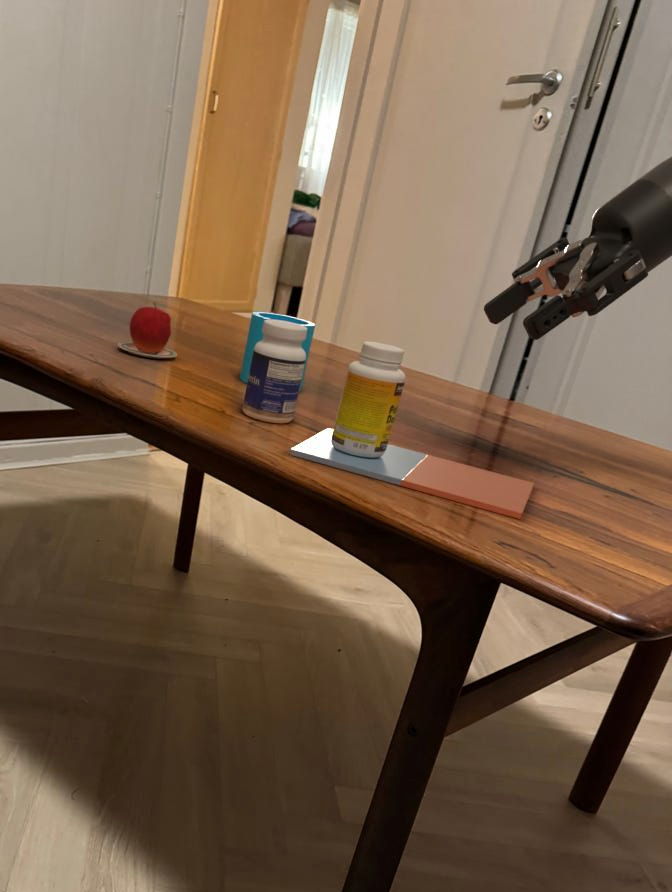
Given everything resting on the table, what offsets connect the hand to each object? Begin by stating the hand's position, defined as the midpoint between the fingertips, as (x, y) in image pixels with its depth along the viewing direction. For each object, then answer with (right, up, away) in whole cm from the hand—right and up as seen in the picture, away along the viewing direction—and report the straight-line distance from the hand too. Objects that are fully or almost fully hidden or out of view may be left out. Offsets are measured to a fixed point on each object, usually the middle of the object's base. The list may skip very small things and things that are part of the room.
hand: (507, 323), depth 86 cm
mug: (-19, +4, +33) cm, 38 cm away
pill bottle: (-22, -6, +14) cm, 26 cm away
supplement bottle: (-14, -11, +4) cm, 18 cm away
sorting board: (-8, -14, +3) cm, 16 cm away
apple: (-36, +8, +36) cm, 52 cm away
